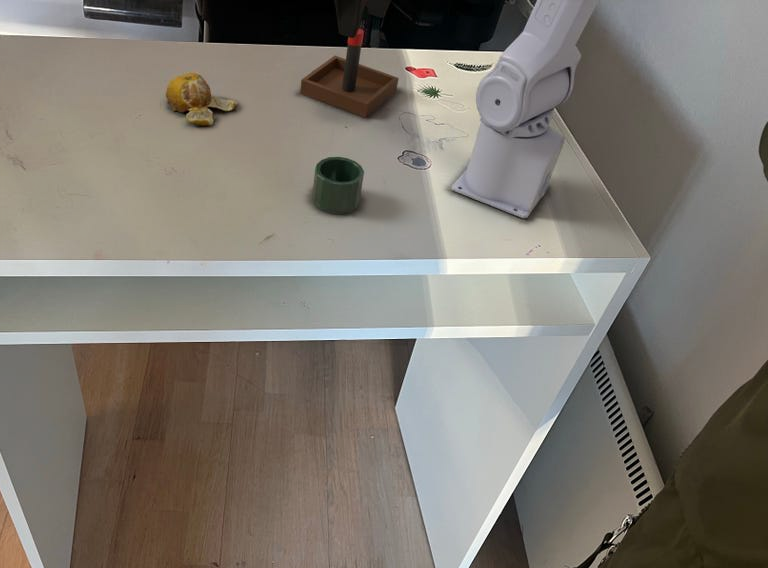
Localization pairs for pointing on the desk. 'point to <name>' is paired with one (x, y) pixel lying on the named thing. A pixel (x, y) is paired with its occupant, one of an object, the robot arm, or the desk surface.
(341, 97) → the brown tray
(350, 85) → the marker
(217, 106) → the fruit
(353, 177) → the green hollow cylinder
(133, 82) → the desk surface
